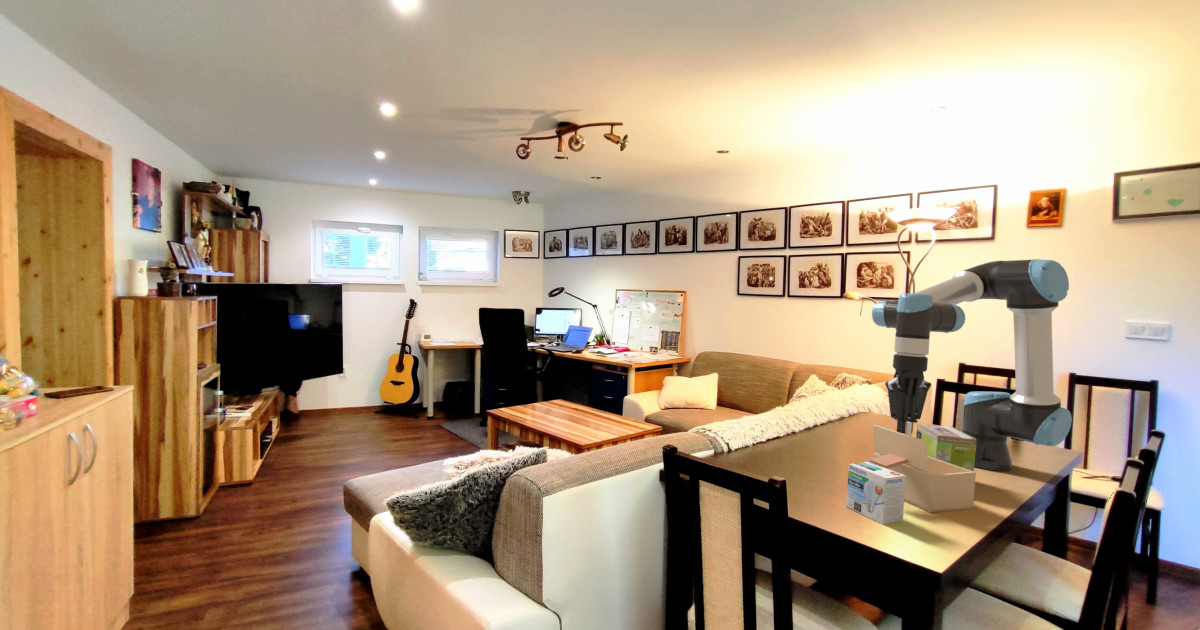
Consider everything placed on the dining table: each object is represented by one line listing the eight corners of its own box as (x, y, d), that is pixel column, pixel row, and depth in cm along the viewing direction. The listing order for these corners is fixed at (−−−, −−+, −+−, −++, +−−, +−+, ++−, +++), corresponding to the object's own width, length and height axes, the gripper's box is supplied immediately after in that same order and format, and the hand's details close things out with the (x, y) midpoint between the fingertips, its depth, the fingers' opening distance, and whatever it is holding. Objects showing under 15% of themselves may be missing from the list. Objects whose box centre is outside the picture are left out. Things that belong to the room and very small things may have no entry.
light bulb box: (844, 506, 130) (847, 463, 130) (864, 503, 133) (867, 460, 132) (883, 525, 120) (886, 478, 120) (904, 521, 123) (907, 475, 122)
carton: (910, 482, 150) (912, 450, 149) (973, 508, 133) (975, 472, 132) (871, 486, 145) (873, 453, 145) (930, 513, 128) (933, 476, 128)
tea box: (973, 492, 144) (978, 438, 143) (932, 488, 146) (936, 434, 145) (949, 474, 159) (952, 425, 158) (912, 470, 161) (915, 422, 160)
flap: (874, 424, 143) (852, 430, 140) (926, 440, 128) (902, 447, 126) (876, 451, 144) (854, 458, 141) (928, 470, 129) (904, 478, 127)
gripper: (917, 353, 141) (909, 441, 142) (878, 352, 137) (871, 443, 138) (943, 356, 134) (935, 450, 135) (903, 356, 130) (896, 452, 131)
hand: (903, 446), depth 136 cm, fingers closed
